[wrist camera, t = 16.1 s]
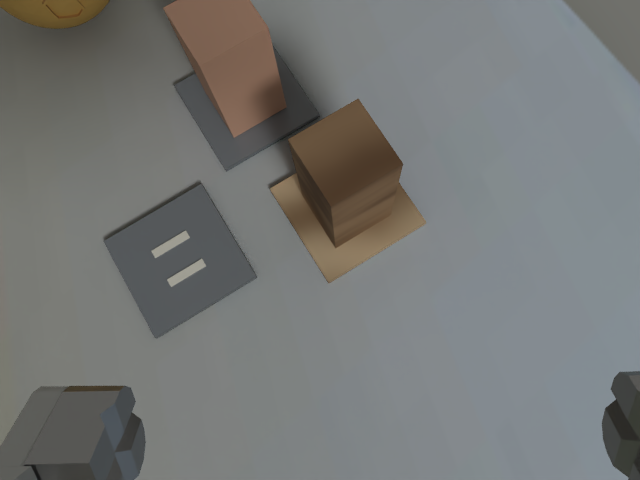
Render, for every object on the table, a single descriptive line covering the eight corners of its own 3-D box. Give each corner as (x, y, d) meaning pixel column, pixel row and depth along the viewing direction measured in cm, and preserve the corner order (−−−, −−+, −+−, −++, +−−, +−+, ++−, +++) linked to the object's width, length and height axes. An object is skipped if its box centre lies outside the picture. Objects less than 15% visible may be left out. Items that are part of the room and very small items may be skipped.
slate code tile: (105, 242, 42) (102, 240, 41) (202, 185, 42) (200, 183, 42) (157, 338, 40) (154, 338, 39) (257, 277, 41) (256, 276, 40)
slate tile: (175, 87, 44) (173, 84, 44) (265, 36, 45) (264, 32, 44) (226, 171, 42) (224, 168, 42) (319, 116, 43) (319, 113, 43)
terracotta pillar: (204, 90, 44) (163, 7, 34) (256, 61, 44) (229, -30, 34) (234, 137, 43) (199, 66, 33) (286, 107, 43) (268, 27, 33)
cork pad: (270, 190, 42) (269, 188, 42) (364, 134, 43) (364, 132, 42) (328, 283, 40) (328, 282, 40) (425, 223, 41) (426, 222, 40)
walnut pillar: (302, 196, 41) (288, 139, 32) (356, 164, 42) (358, 98, 32) (335, 248, 40) (331, 206, 31) (390, 215, 41) (403, 163, 31)
